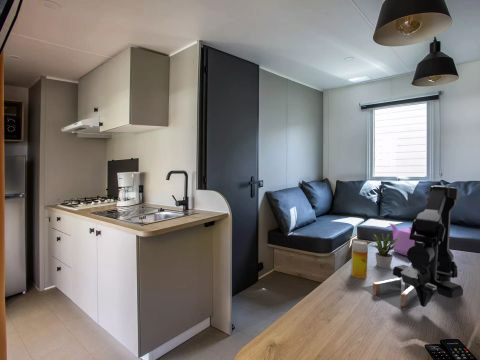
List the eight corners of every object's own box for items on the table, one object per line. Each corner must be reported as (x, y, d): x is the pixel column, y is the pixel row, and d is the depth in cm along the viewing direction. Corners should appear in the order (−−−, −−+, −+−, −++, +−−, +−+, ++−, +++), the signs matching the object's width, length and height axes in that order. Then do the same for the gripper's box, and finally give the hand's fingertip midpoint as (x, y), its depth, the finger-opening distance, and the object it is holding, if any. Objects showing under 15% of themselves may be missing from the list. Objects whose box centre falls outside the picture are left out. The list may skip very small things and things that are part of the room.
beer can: (368, 281, 114) (369, 245, 113) (352, 279, 115) (353, 243, 114) (364, 275, 120) (366, 240, 119) (349, 274, 121) (350, 240, 120)
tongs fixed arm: (398, 288, 105) (398, 277, 105) (401, 289, 104) (401, 278, 104) (372, 294, 100) (372, 282, 100) (375, 295, 99) (376, 284, 99)
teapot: (443, 256, 146) (445, 228, 145) (414, 261, 139) (416, 231, 138) (404, 244, 167) (405, 220, 166) (377, 248, 160) (378, 222, 159)
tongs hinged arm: (406, 286, 107) (407, 276, 106) (421, 291, 103) (421, 280, 103) (388, 302, 94) (389, 290, 94) (404, 307, 91) (405, 295, 91)
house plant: (405, 277, 119) (407, 239, 118) (369, 272, 123) (371, 235, 122) (399, 265, 132) (400, 231, 131) (367, 261, 137) (368, 228, 136)
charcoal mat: (393, 283, 112) (394, 280, 112) (437, 302, 97) (437, 300, 97) (360, 290, 105) (360, 287, 105) (401, 312, 90) (401, 309, 90)
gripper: (381, 251, 93) (379, 297, 94) (440, 272, 76) (437, 328, 77) (405, 248, 97) (403, 292, 98) (465, 266, 80) (462, 319, 81)
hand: (423, 306), depth 88 cm, fingers closed
